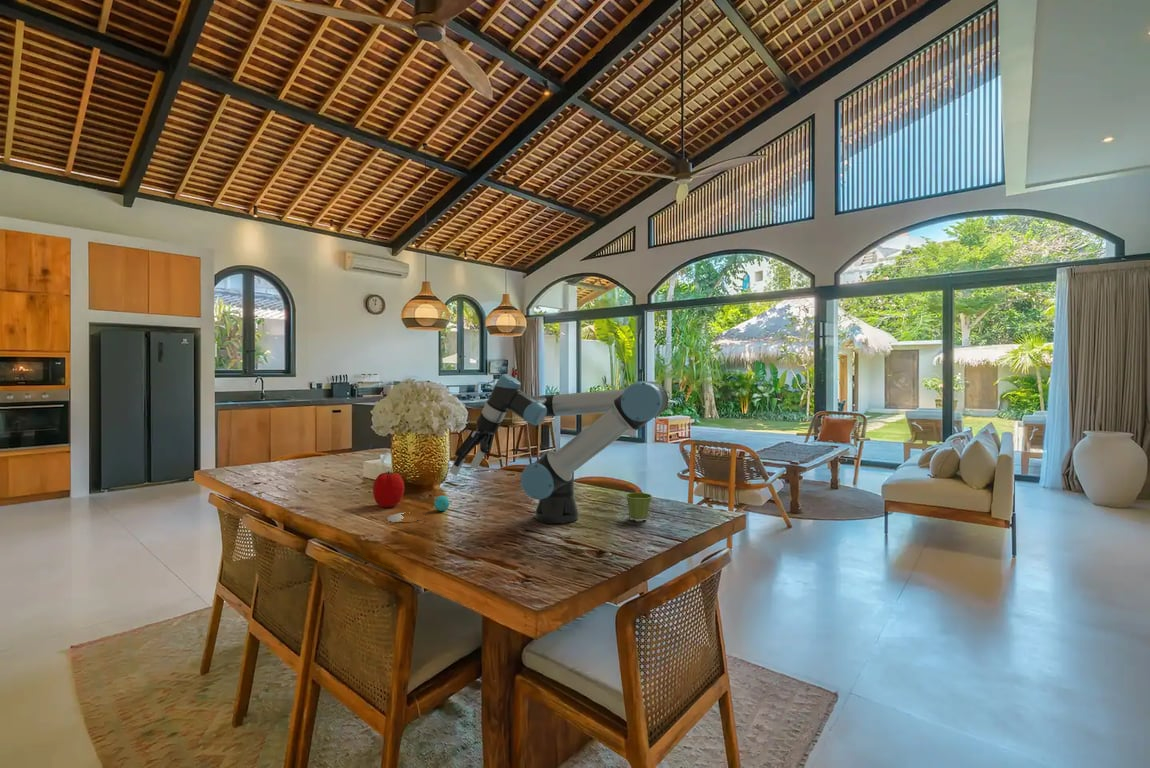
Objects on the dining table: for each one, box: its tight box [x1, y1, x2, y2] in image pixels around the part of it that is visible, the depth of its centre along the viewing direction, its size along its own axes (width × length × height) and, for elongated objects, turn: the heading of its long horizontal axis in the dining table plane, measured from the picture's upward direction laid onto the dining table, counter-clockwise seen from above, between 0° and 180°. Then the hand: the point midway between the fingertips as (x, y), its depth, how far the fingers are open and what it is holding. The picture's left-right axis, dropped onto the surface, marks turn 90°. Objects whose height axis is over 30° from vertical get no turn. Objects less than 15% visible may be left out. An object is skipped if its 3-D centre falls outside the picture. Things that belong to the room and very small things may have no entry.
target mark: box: [386, 511, 411, 523], centre depth 184 cm, size 13×13×1 cm
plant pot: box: [624, 492, 653, 519], centre depth 186 cm, size 9×9×9 cm
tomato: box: [372, 470, 406, 508], centre depth 200 cm, size 12×12×13 cm
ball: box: [433, 495, 451, 512], centre depth 195 cm, size 6×6×6 cm
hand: (463, 470), depth 183 cm, fingers open, 13 cm apart
